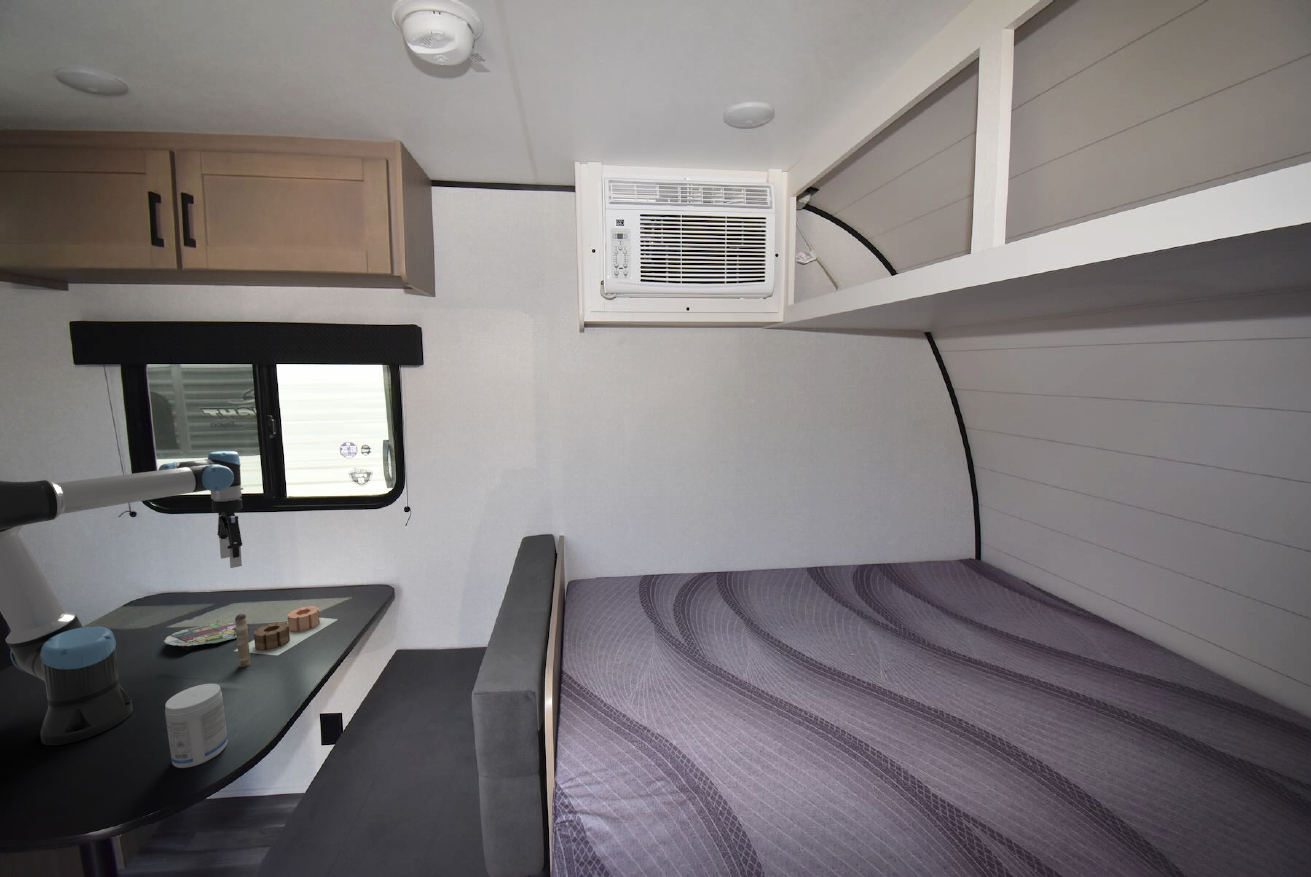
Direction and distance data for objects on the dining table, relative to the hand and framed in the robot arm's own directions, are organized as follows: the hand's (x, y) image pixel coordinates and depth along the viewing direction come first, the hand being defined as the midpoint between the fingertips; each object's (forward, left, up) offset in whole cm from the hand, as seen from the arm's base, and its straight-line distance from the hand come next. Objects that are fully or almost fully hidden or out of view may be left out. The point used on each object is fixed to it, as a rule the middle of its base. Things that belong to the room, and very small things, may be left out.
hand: (231, 562), depth 161 cm
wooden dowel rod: (-14, -19, -27) cm, 36 cm away
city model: (0, +9, -27) cm, 29 cm away
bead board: (+4, -16, -27) cm, 31 cm away
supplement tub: (-45, -42, -27) cm, 67 cm away
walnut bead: (-2, -16, -26) cm, 30 cm away
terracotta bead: (+10, -16, -26) cm, 32 cm away
